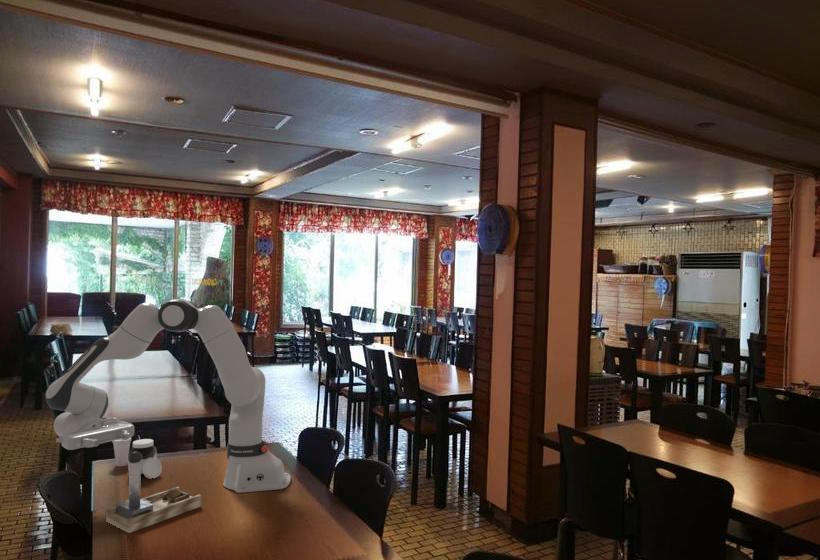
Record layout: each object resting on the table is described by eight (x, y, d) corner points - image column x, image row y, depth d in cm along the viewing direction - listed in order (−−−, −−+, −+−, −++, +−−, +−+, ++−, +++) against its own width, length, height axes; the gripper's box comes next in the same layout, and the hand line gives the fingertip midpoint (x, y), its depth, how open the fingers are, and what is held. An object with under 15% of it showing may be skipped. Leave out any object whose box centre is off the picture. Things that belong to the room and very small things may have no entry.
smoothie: (123, 468, 213) (123, 430, 213) (108, 466, 214) (108, 428, 214) (134, 462, 219) (135, 425, 219) (120, 461, 220) (120, 424, 220)
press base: (129, 533, 160) (129, 519, 160) (106, 522, 167) (106, 508, 167) (201, 506, 179) (201, 494, 179) (177, 497, 186) (177, 485, 186)
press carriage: (133, 521, 162) (133, 457, 162) (115, 513, 167) (116, 451, 167) (155, 513, 168) (156, 451, 168) (138, 505, 173) (138, 445, 173)
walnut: (182, 498, 180) (182, 485, 180) (178, 503, 176) (178, 490, 176) (168, 498, 179) (169, 485, 179) (164, 503, 175) (164, 490, 175)
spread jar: (139, 469, 212) (139, 437, 212) (169, 469, 212) (170, 438, 211) (121, 480, 200) (122, 447, 200) (154, 481, 200) (154, 447, 200)
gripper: (53, 428, 173) (76, 437, 165) (120, 416, 190) (144, 423, 182) (52, 449, 173) (75, 459, 165) (119, 435, 190) (143, 443, 182)
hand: (112, 440), depth 174 cm, fingers open, 8 cm apart
